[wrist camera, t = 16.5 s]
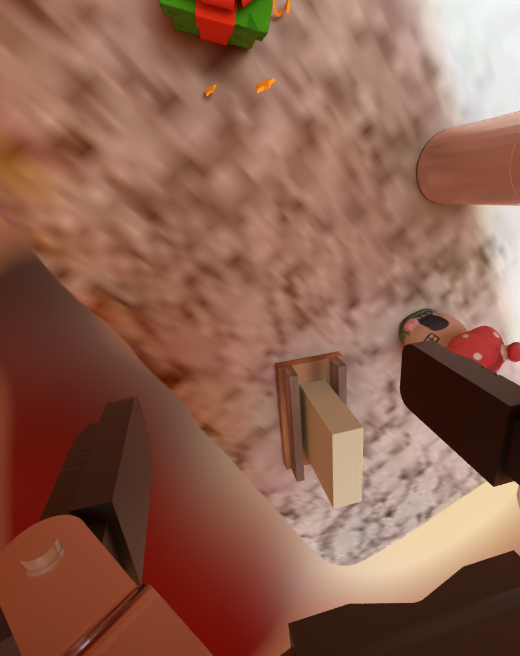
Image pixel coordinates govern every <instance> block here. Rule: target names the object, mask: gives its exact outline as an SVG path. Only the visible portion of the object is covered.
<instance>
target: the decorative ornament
mask: <svg viewBox="0 0 520 656" xmlns="http://www.w3.org/2000/svg"><path fill="white" fill-rule="evenodd" d="M400 339H401V340H402V342H403V343H404V344H405V345H407V344H411V343H416V342H422V341H427V340H432V341H435V342H436V343H438V344H440V345H442V346H443V347H445V348H447V349H449V350H451V351H452V352H454V353H456V354H458V355H462V356H465V357H468V358H470V359H472V360H474V361H476V362H477V363H479V364H481V365H483V366H484V368H488V369H490V370H492V371H494V372H498V371H499V369H500V367H501V366H502V364H503V363H504V361H505V360H507V359H510V360H511V361H513V362H518V361H520V343H518V342H514V343H512V344H510V345H508V346H506V345H504V343H503V341H502V338H501V336H500V335H499V333H498V332H497V331H495V330H494V329H493V328H491V327H489V326H481V327H478V328H475V329H473V330H471V331H468V332H467V331H466V329H465V327H464V326H463V325H462V324H461V323H460V322H459V321H458V320H456V319H455V318H453V317H451V316H447V315H442V314H437V313H436V312H435V311H433V310H430V309H425V310H420V311H418V312H416V313H414V314H412V315H410V316H409V317H407V319H406V320H405V321H404V323H403V324H402V326H401V327H400Z"/></svg>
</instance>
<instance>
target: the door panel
mask: <svg viewBox="0 0 520 656" xmlns="http://www.w3.org/2000/svg"><path fill="white" fill-rule="evenodd" d="M300 399H301V417H302V435H303V449H304V451H305V453H306V455H307V457H308V459H309V461H310V463H311V465H312V467H313V469H314V471H315V473H316V475H317V477H318V479H319V481H320V483H321V485H322V487H323V489H324V491H325V493H326V495H327V497H328V499H329V501H330V503H331V505H332V507H333V509H334V508H338V507H342V506H346V505H349V504H353V503H357V502H360V501H362V468H363V428H364V427H363V426H362V425H361V424H360V423H359V421H358V420H357V419H356V418H355V416H354V415H353V414H352V413H351V411H350V410H349V409H348V408H347V406H346V405H345V404H344V403H343V401H342V400H341V399H340V398H339V397H338V395H337V394H336V393H335V392H334V390H333V389H332V388H331V387H330V385H329V384H328V383H327V382H326V380H320V381H315V382H310V383H305V384H300Z"/></svg>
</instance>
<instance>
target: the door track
mask: <svg viewBox="0 0 520 656" xmlns="http://www.w3.org/2000/svg"><path fill="white" fill-rule="evenodd" d="M275 365H276V376H277V387H278V398H279V410H280V421H281V432H282V443H283V455H284V464H285V466H286V469H290V468H292V471H293V473H294V476H295V478H296V480H297V482H298V481H302V480H304V466H303V465H307V464H311V463H310V461H309V459H308V457H307V455H306V453H305V451H304V449H303V435H302V417H301V399H300V384H305V383H310V382H315V381H320V380H326V382H327V383H328V384H329V385H330V387H331V388H332V389H333V390H334V392H335V393H336V394H337V395H338V397H339V398H340V399H341V400H342V401H343V403H344V404H345V405H346V365H345V364H344V363H343V362H342V355H341V354H340V353H339V352H333V353H328V354H323V355H318V356H313V357H307V358H302V359H297V360H292V361H286V362H281V363H276V364H275Z"/></svg>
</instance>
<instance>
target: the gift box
mask: <svg viewBox="0 0 520 656" xmlns="http://www.w3.org/2000/svg"><path fill="white" fill-rule="evenodd" d="M159 3H160V6H161V8H162V10H163V12H164V14H165V15H168V16H172V20H173V23H174V26H175V29H176V30H180V31H184V32H187V33H191V34H195V35H198V36H200V39H203V40H207V41H211V42H214V43H218V44H222V45H226V46H227V44H232V45H236V46H239V47H243V48H247V49H251V47H252V46H253V44H254V42H255V40H259V41H262V40H263V38H264V37H265V36H266V35H267V33H268V29H269V23H270V16H271V9H272V4H273V11H274V14H275V15H276V16H277V17H279V16H281V15H282V14H283V13H284V12H285V10H286V9H287V13H290V9H289V6H290V0H287V2H286V5H285V7H284V8H283V10H282V11H280V12H277V10H276V5H275V0H159ZM274 81H275V79H273V78H272V79H269V80H267V79H264V80H263V81H262V82H261V83H259V84H257V85H256V87H255V89H258V90H257V93H259V92H261V91H263V90H265V89H270V87H271V84H272V83H273V82H274ZM216 86H217V85H213V86H211V85H210V86H209V87H208V88H207V89H206V90H205V93H206V96H208V95H209V94H210V93H213V92H214V89H215V87H216Z"/></svg>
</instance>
